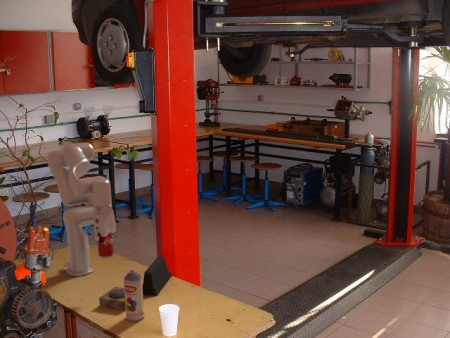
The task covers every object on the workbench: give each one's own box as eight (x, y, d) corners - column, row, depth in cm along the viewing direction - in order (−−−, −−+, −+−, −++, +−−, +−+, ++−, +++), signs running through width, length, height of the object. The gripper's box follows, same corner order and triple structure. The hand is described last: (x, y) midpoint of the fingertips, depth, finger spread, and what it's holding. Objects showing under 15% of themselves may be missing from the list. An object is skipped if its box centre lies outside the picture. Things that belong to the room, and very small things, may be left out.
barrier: (155, 275, 260) (153, 254, 258) (172, 275, 258) (171, 255, 256) (137, 295, 237) (136, 273, 235) (157, 296, 236) (156, 274, 234)
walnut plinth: (99, 307, 226) (99, 297, 226) (115, 295, 237) (115, 285, 237) (125, 311, 222) (124, 300, 221) (140, 299, 233) (139, 289, 232)
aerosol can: (123, 320, 214) (119, 271, 210) (132, 313, 220) (129, 265, 216) (138, 323, 212) (135, 273, 208) (147, 315, 218) (144, 267, 214)
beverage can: (110, 259, 233) (108, 231, 231) (96, 259, 234) (94, 231, 232) (115, 254, 240) (113, 227, 237) (102, 254, 241) (99, 227, 238)
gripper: (99, 214, 225) (102, 257, 228) (121, 204, 240) (124, 244, 243) (83, 213, 227) (87, 255, 231) (106, 203, 243) (109, 243, 246)
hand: (106, 249), depth 237 cm, fingers closed on beverage can, 4 cm apart
